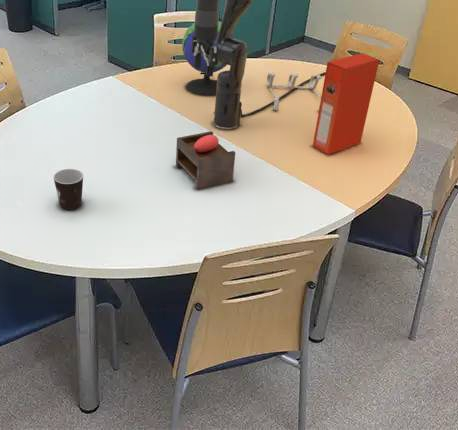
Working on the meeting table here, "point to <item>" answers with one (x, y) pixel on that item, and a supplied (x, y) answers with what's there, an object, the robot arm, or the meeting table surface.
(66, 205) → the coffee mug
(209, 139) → the red rounded oblong piece
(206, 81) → the globe
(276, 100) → the over door rack
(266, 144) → the meeting table surface
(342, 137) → the file binder
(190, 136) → the rack
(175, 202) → the meeting table surface
